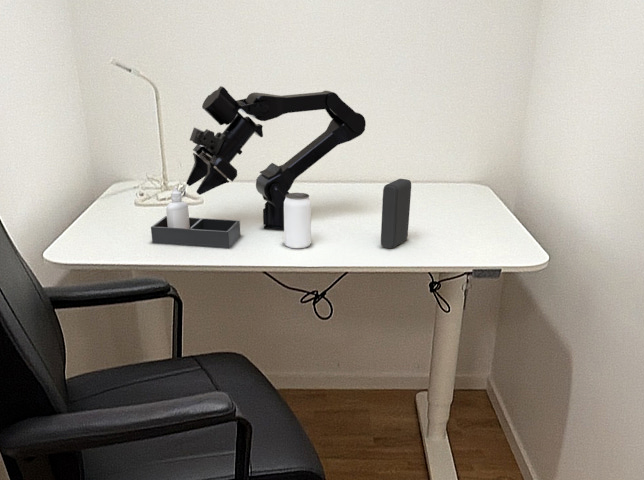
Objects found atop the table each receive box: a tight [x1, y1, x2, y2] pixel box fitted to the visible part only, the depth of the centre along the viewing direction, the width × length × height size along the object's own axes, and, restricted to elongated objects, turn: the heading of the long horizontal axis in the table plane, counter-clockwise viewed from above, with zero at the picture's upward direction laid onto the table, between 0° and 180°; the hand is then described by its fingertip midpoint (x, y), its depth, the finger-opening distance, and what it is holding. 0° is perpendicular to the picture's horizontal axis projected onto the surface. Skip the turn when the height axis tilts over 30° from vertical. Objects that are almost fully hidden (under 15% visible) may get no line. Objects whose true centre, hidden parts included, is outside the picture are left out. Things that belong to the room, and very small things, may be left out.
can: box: [283, 192, 312, 250], centre depth 178 cm, size 6×6×12 cm
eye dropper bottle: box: [165, 185, 190, 229], centre depth 181 cm, size 4×6×12 cm
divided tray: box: [150, 215, 241, 249], centre depth 182 cm, size 10×19×4 cm, turn 80°
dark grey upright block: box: [380, 178, 412, 249], centre depth 179 cm, size 9×4×15 cm, turn 150°
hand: (192, 189), depth 180 cm, fingers open, 9 cm apart
